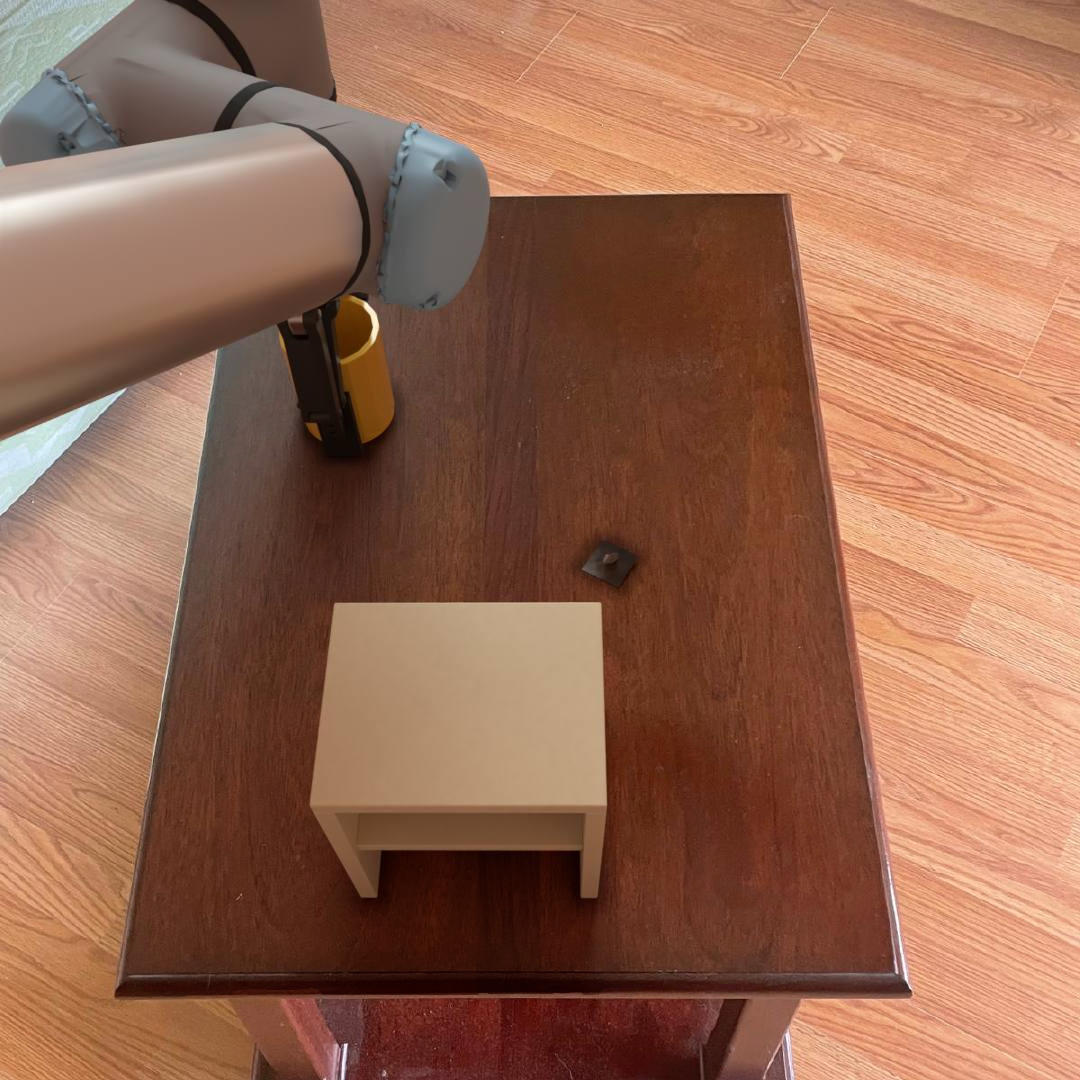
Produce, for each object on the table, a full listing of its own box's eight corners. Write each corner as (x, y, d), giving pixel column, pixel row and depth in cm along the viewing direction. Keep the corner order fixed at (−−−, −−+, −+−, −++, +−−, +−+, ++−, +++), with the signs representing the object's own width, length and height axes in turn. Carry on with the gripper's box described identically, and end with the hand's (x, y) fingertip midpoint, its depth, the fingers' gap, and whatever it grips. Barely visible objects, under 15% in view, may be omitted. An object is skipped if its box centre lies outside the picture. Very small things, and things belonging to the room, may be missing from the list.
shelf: (360, 897, 65) (308, 806, 52) (376, 724, 71) (333, 602, 58) (597, 898, 65) (607, 806, 52) (593, 724, 71) (601, 601, 58)
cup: (333, 461, 83) (310, 382, 75) (287, 403, 86) (261, 322, 78) (412, 417, 85) (397, 336, 77) (364, 363, 88) (346, 279, 81)
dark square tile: (618, 588, 77) (618, 580, 75) (581, 569, 77) (580, 561, 76) (638, 556, 78) (638, 548, 77) (602, 538, 79) (601, 530, 77)
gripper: (331, 287, 60) (388, 519, 80) (365, 60, 71) (408, 312, 91) (195, 288, 61) (284, 519, 80) (250, 61, 72) (317, 312, 91)
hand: (350, 409), depth 85 cm, fingers open, 8 cm apart
